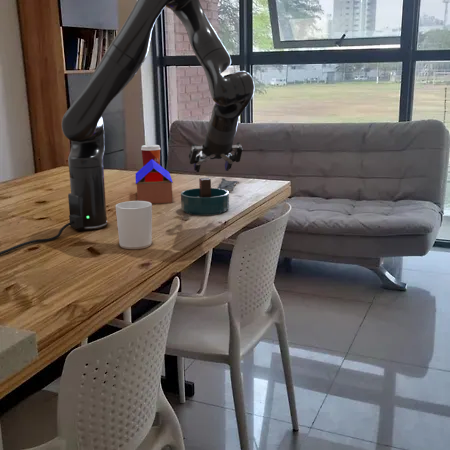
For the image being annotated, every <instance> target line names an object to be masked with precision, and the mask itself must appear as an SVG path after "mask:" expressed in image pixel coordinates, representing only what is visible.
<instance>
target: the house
mask: <svg viewBox="0 0 450 450" xmlns="http://www.w3.org/2000/svg"><path fill="white" fill-rule="evenodd" d="M173 184H174V182H173V179H172V176H171V172H169V171H168V170H167V169H165V168H164V167H163V166H162V165H161V164H160V165H159V164H158V163H156V162H155V161H154V160H153V159H151V160H150V161H149V162H148V163H147V164H146V165H145V166H143V165H142V167H141V168H140V169H139V170H138V171H137V172H135V185H136V196H137V198H136V199H137V200H136V201H146V202H150V203H152V204H168V203H170V204H171V203H173Z"/></svg>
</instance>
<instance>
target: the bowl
mask: <svg viewBox="0 0 450 450" xmlns="http://www.w3.org/2000/svg"><path fill="white" fill-rule="evenodd" d="M217 188H218V187H217ZM217 188H216V187H211V197H200V187H198V188H190V189H189V188H188V189H186V190H183V191H181V192H180V209H181V210H182V211H183V212H184V213H185V214H189V215H193V216H212V215H219V214H223V213H225V212H226V211H228V210H229V208H230V192H229V190H223V189H217Z"/></svg>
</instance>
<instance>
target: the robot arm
mask: <svg viewBox="0 0 450 450" xmlns="http://www.w3.org/2000/svg"><path fill="white" fill-rule="evenodd" d="M164 8H168V9H170V10H171V11H172V13H174V15H175V16H176V17H177V18H178V20H180V22H181V23H182V24H183V26H184V29H185V31H186V33H187V36H188V41H189V44H190V47H191V49H192V52H193V53H194V55H195V57H196V59H197V60H198V63H200V65H201V67H202V69H203V71H204V74H205V77H206V81H207V84H208V89H209V93H210V97H211V99H212V100H213V103H214V105H213V107H212V111H211V115H210V119H209V121H208V124H207V129H206V132H205V138H204V142H203V144H202V145H197V144H196V143H192V144H191V146H190V149H189V153H188V159H189V160H188V161H189V164H190V165H193V170H194V171H195V173H199V172H200V170H201V165H202V164H203V163H206V162H208V161H210V160H215V159H216V160H222V159H223V160H224V161H225V162H224V171H225V172H229V170H230V169H232V166H233V164H234V162H236V163H240V162H241V158H242V155H243V154H242V153H243V147H242V143H241V142H240V141H238V142H236V144H234V141H235V138H236V136H237V130H238V124H239V120H240V116H241V115H242V114H243V112H244V111H245V110H246V109H247V107H248V106H249V104H250V102H251V101H252V99H253V97H254V94H255V81H254V78H253V77H252V75H251V74H250V73H249V72H247V71H245V70H238V71H235V72H231V73H228V74H225V75H222V73H224V72H225V71H226V70H228V68H229V67H230V66H231V64H232V59H231V56H230V54H229V52H228V50H227V49H226V47H225V45H224V44H223V42H222V40H221V39H220V37H219V36H218V34H217V32H216V30H215V29H214V28H213V26H212V24H211V22H210V21H209V19H208V17H207V14H206V13H205V11H204V9H203V7H202V4H201V2H200V0H136V2H135V4H134V6H133V7H132V9H131V11H130V12H129V14H128V16H127V18H126V20H125V21H124V23H123V25H122V26H121V28H120V29H119V31H118V33H117V34H116V35H115V37H114V38H113V40H112V41H111V43H110V45H109V46H108V48H107V49H106V51H105V52H104V54H103V56H102V58H101V59H100V61H99V63H98V64H97V66H96V68H95V70H94V71H93V73H92V74H91V77H90V78H89V81H88V82H87V84H86V86H85V87H84V89H83V90H82V91H81V93H80V94H79V95H78V96H77V98H76V99H75V100H74V101H73V103H72V104H71V105H70V106H69V108H68V109H67V110H66V111H65V113H64V114H63V116H62V119H61V130H62V133H63V135H64V137H66V139H68V140H69V141H70V142H71V147H70V148H71V149H70V152H69V155H68V157H67V158H68V159H67V160H68V173H69V184H70V187H69V188H70V192H69V193H68V194H67V197H68V210H69V211H68V212H69V215H68V219H69V222H68V223H66V224H64V225H63V226H62V227H61V228H60V229H59V231H58V233H57V234H56V235H54V236H52V237H48V238H40V239H32V240H29V241H24V242H21V243H20V244H17V245H14V246H11V247H9V248H6V249H4V250H2V251H0V256H2V255H4V254H6V253H9V252H11V251H14V250H16V249H19V248H22V247H24V246H27V245H30V244H35V243H44V242H51V241H54V240H57V239H58V238H60V237H61V235H62V233H63V231H64V230H65V229H66V228H68V227H70V228H73V229H75V230H78V231H81V232H83V231H94V230H99V229H103V228H107V226H108V216H107V203H106V188H105V169H104V156H105V127H104V119H103V114H104V113H105V111H106V109H107V108H108V107H109V106H110V104H111V102H112V101H113V100H114V99H115V98H116V97H117V96H118V95H119V94H120V93H121V92H122V91H123V90H124V89H125V87H127V85H129V84H130V83H131V81H132V80H133V78H134V77H135V76H136V75H137V73H138V72H139V71H140V68H141V67H142V66H143V64H144V62H145V60H146V59H147V56H148V53H149V50H150V43H151V38H152V33H153V29H154V26H155V23H156V22H157V19H158V18H159V16H160V15H161V13H162V12H163V10H164ZM232 152H234V153H233V154H232Z"/></svg>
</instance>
